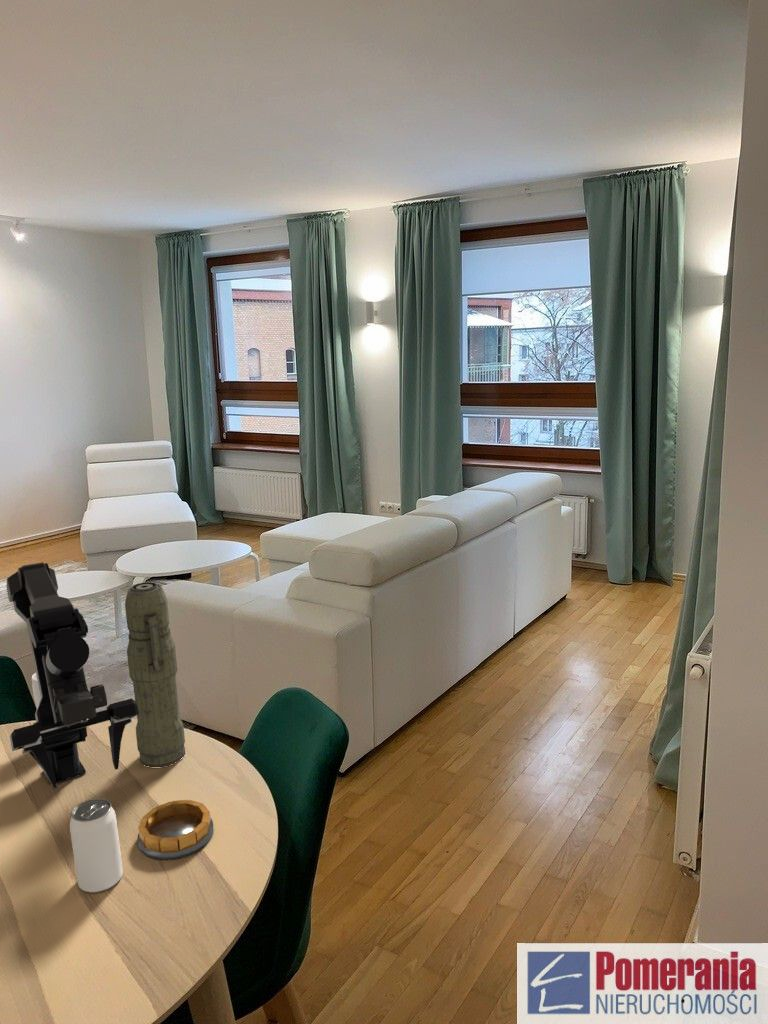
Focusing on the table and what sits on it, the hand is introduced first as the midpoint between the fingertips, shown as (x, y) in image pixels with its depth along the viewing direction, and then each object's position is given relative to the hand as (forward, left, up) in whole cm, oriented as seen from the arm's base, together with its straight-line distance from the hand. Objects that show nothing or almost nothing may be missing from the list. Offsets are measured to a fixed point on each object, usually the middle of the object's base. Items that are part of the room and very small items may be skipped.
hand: (86, 778), depth 122 cm
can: (+8, -1, -13) cm, 15 cm away
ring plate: (+5, +12, -13) cm, 18 cm away
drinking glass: (-40, +4, -13) cm, 42 cm away
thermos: (-21, +19, -13) cm, 31 cm away
